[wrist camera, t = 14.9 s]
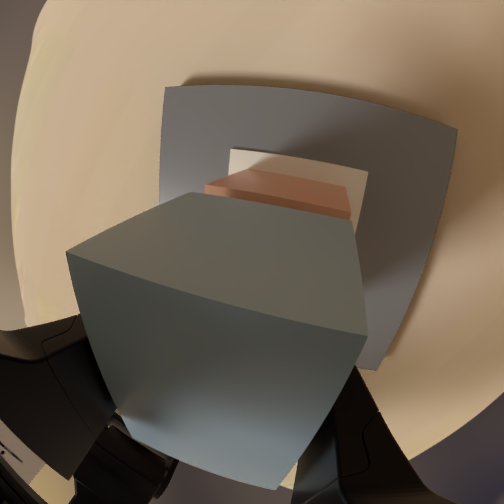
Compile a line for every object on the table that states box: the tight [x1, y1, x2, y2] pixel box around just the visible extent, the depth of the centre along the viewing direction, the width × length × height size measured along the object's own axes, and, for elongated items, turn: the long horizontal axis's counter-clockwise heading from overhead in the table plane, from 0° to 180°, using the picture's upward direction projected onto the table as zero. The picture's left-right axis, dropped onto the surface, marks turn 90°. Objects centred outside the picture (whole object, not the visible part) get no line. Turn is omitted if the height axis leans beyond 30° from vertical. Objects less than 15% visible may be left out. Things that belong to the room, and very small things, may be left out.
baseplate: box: [159, 85, 457, 371], centre depth 15 cm, size 16×16×1 cm
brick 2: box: [66, 192, 368, 490], centre depth 7 cm, size 7×5×5 cm
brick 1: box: [204, 169, 351, 220], centre depth 13 cm, size 7×5×5 cm
